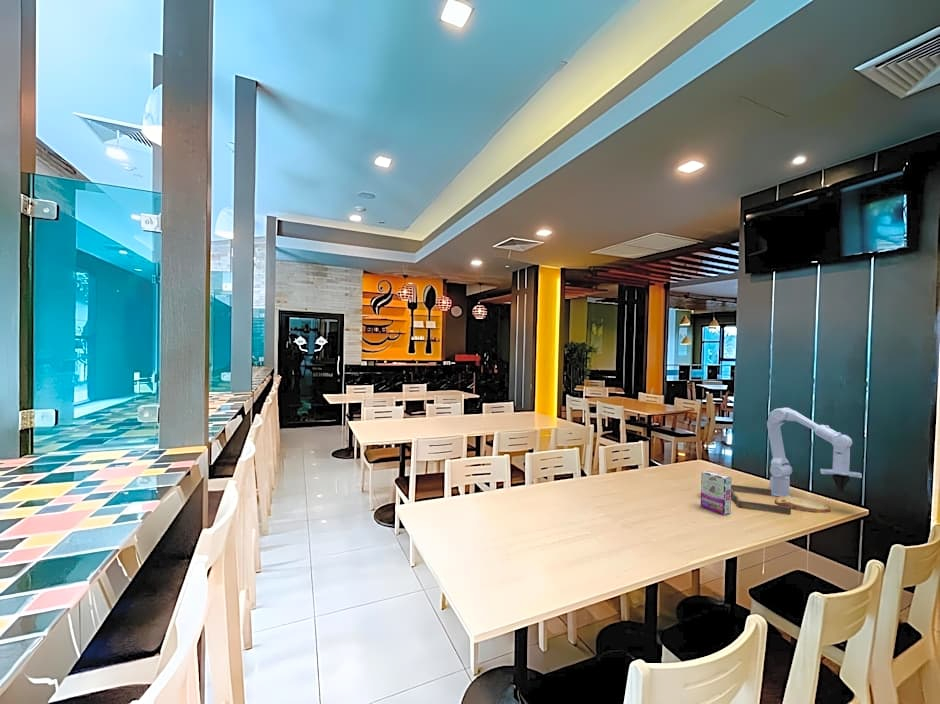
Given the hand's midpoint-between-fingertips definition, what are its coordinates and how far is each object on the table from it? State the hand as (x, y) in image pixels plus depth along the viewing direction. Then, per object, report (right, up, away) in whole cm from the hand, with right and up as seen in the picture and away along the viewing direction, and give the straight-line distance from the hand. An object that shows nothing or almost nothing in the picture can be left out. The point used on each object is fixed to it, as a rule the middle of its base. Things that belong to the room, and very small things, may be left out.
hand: (840, 491), depth 189 cm
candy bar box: (-58, -8, -2) cm, 59 cm away
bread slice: (-13, -9, +5) cm, 17 cm away
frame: (-31, -8, +10) cm, 34 cm away
